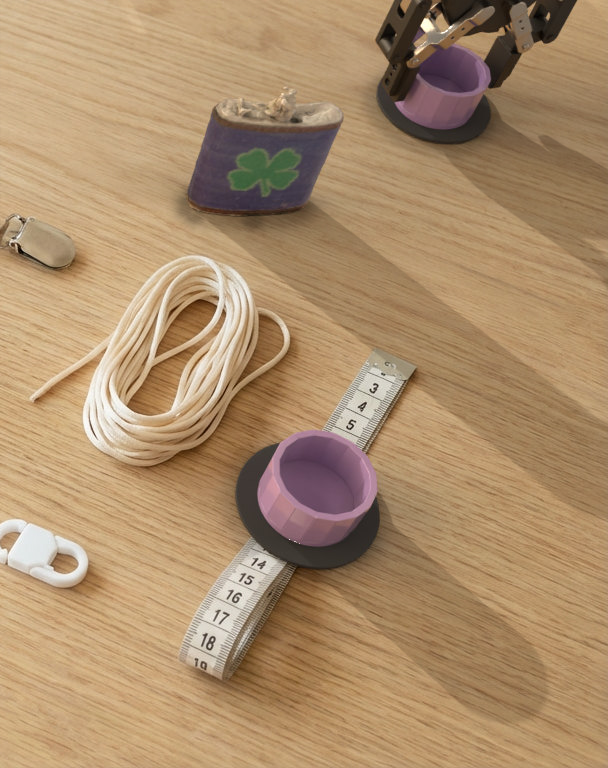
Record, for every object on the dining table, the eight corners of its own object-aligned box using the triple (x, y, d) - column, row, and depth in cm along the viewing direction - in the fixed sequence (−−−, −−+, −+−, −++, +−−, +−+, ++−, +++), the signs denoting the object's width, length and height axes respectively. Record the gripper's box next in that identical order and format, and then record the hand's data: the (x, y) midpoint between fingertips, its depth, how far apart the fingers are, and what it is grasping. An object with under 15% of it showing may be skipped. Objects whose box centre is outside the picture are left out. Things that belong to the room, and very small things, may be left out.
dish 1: (332, 450, 79) (350, 422, 76) (374, 536, 75) (395, 509, 72) (242, 468, 78) (256, 439, 75) (280, 555, 74) (297, 529, 71)
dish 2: (449, 70, 100) (466, 36, 97) (486, 124, 97) (505, 90, 94) (379, 80, 99) (395, 46, 96) (414, 134, 96) (431, 101, 93)
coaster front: (341, 432, 80) (343, 430, 80) (402, 554, 75) (404, 551, 75) (214, 457, 78) (215, 454, 78) (267, 582, 74) (269, 580, 73)
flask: (303, 188, 92) (350, 80, 83) (311, 217, 91) (359, 110, 82) (182, 186, 92) (216, 77, 83) (187, 216, 90) (223, 108, 81)
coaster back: (456, 60, 101) (458, 57, 101) (509, 135, 96) (511, 133, 96) (357, 73, 100) (359, 70, 100) (406, 151, 95) (408, 148, 95)
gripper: (466, -48, 80) (379, 133, 94) (656, -71, 82) (544, 109, 96) (415, -115, 84) (338, 67, 98) (597, -136, 86) (498, 46, 100)
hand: (440, 87), depth 97 cm, fingers open, 8 cm apart
